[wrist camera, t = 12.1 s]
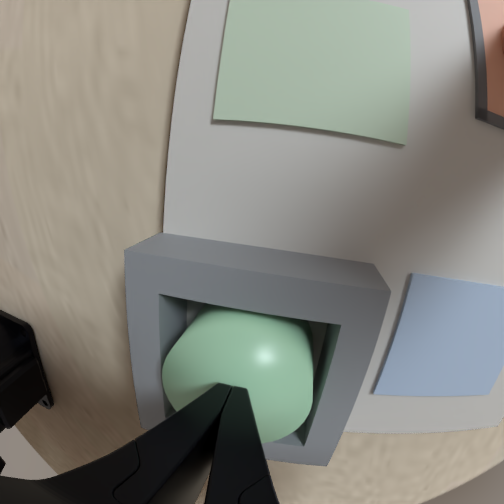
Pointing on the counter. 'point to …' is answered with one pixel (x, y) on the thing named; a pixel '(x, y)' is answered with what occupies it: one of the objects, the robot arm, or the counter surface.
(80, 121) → the counter surface
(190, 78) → the grey sorting board
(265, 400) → the button
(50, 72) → the counter surface
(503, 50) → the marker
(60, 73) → the counter surface
